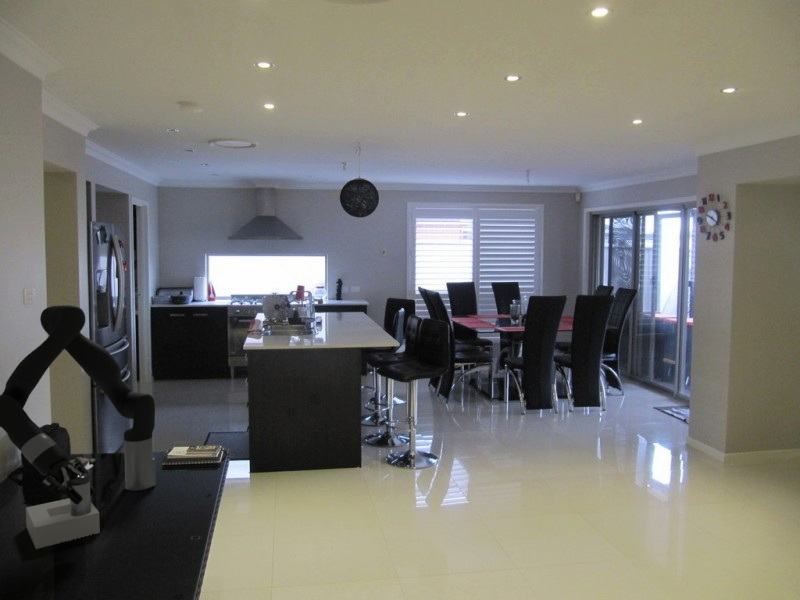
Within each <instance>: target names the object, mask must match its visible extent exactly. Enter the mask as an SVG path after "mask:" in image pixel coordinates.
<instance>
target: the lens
mask: <svg viewBox="0 0 800 600" xmlns="http://www.w3.org/2000/svg"><path fill="white" fill-rule="evenodd" d="M89 474H90V473H89ZM89 474H77V475H73V476H71V477H69V481H70V485H71V486H72V488H73V489H74V490H75V491H76V492H77V493H78V494H79V495H80V496H81V497H82V498H83V500H82V501H81V502H80V503H79V504H77V505H76V504H75V503H73V502H72V501H71V500H70V515H71V516H74V517H78V516H84V515H87V514H89V513H90V512H91V503H92V502H91V501H92V500H91V497H92V496H91V497H90V485H91V474H90V475H89ZM73 489H72V490H73Z"/></svg>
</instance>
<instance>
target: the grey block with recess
mask: <svg viewBox="0 0 800 600" xmlns="http://www.w3.org/2000/svg"><path fill="white" fill-rule="evenodd" d="M25 517H26V518H25V520H26V529H27V533H28V534H29V536H30V539H31V541H32V543H33V546H34V548H35V550H38V549H41V548H45V547H50V546H53V545H57V544H62V543H66V542H70V541H74V540H78V539H81V537H82V538H84V537H85V536H86V537H90V536H93V535H92V534H94V535H97V534H100V533H101V532H100V531H101V528H100V512H99V510H98V509H97V508H96V506H95V505H94V504H93V503H92V502H91V512H90V513H89V514H87V515H84V516H78V517H74V516H71V515H70V499H69V498H65V499H64V498H63V499H60V500H55V501H51V502H45V503H41V504H37V505H32V506H27V507H25ZM89 535H90V536H89ZM77 538H78V539H77ZM73 539H74V540H73ZM65 541H66V542H65ZM61 542H62V543H61Z"/></svg>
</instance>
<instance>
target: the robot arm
mask: <svg viewBox="0 0 800 600" xmlns="http://www.w3.org/2000/svg"><path fill="white" fill-rule="evenodd" d="M39 319H40V325H41V327H42V329H43V330H44V332H45V333H46V334H47V335H48V336H47V338H46V339H45V340H44V341H43V342H42V343H40V344H39V346H37V347H35V348H34V349H33V350H32V351H31V352H30V353H28V354H27V355H26V356H25V357H23V359H22V360H21V361H20V362H19V363H18V365H17V366H16V367H15V369H14V370H13V371H12V373H11V374H10V376H9V377H8V379H7V381H6V383H5V386H4V390H3V392H2V393H1V394H0V428H1V429H2V430H3V431H5V433H6V434H7V437H8V438H9V440H10V441H11V443H13V444H14V446H15V447H16V448H17V449H18V450H19V451H20V452H21V454H23V456H24V458H25V459H26V460H27V461H28V462H29V463H30V464H31V465H32V466H33V467H34V469H36V471H38V472H39V474H40V475H42V476H46V478H44V480H43V481H42V482H41V485H42V486H44V488H46V489H48V491H50V492H51V493H53V494H54V495H56V496H57V497H60V498H61V497H62V496H65V497H67V499H70V500H71V501H72V502H73V503H75V504H76V505H77V504H79V503H80V502H81V501H82V500H83V498H82V497H81V496H80V495H79V494H78V493H77V492H76V491H75V490H74V489H73V488H72V486H71V485H70V481H69V477H71V476H73V475H77V474H89V475H90V476H91V474H90V472H89V471H88V470H87V468H86V467H85V466H84V464H83V463H82V461H81V460H78V461H76V462H75V463H72V462H70V461H69V460H68V454H67V453H66V452H65V451H64V450H63V449H62V448H61V447H60V446H59V445H58V443H56V442H55V441H54V440H53V438H51V437H50V436H49V435H48V434H46V432H44V431H43V430H42V429H41V427H39V426H38V424H37V423H35V422H34V421H33V420H32V419H31V418H30V416H29V415H28V413H27V412H26V411H25V409H24V407H25V405H26V403H27V402H28V400H29V397H30V396H31V394H32V392H33V391H34V389H35V388H36V387H37V385H38V384H39V382H40V381H41V379H42V378H43V376H44V375H45V373H46V372H47V371H48V369H49V367H50V366H51V364H53V363H54V361H55V360H56V359H57V358H58V357H59V355H61V353H62V352H63V351H64V350H65V351H66V352H67V353H68V354H69V355H70V356H71V358H72V359H73V360H74V361H75V362H76V363H77V364H78V365H79V367H80V368H81V369H82V370H83V371H84V372H85V374H86V375H88V377H89V378H90V379H91V380H92V381H93V382H94V383H95V384H96V385H97V387H99V389H100V390H101V391H102V392H103V393H104V394H105V395H106V396H107V398H108V399H109V401H110V402H111V404H112V405H113V407H114V408H115V410H116V411H117V412H118V414H119V415H120V416H121V417H123V418H124V419H125V418H126V419H129V420H132V427H131V428H128V429H126V430H124V433H123V449H124V452H123V453H124V479H125V480H124V483H125V487H124V488H125V490H126V491H130V492H131V491H132V492H135V491H136V492H137V491H138V490H139V491H143V490H147V489H150V488H152V487H156V486H157V483H156V481H157V480H156V478H157V477H156V459H155V458H154V447H153V446H154V444H153V443H154V442H153V441H154V440H153V433H154V429H155V425H156V423H155V421H156V417H155V416H156V403H155V400H154V397H153V396H152V395H151V394H150V393H146V392H145V393H144V392H137V391H133V390H131V389H130V388H129V387H128V386H127V385H126V383H125V382H124V381H123V379H122V373H121V367H120V364H119V363H118V361H117V360H116V359H115V358H114V356H113V355H112V354H111V353H110V351H109V350H107V349H106V348H105V347H104V346H101V345H100V344H99V343H96V342H95V341H93V340H91V339H90V338H88V337H86V336H85V335H84V334H83V333H81V331H82V330H83V329H84V327H85V324H86V314H85V312H84V311H83V309H82V308H80V306H77V305H72V304H71V305H69V304H68V305H64V304H63V305H52V306H48V307H46V308H44V309H43V310H42V312H41V314H40V317H39ZM155 485H156V486H155ZM72 489H73V490H72ZM95 493H96V489H95V488H94V486H92V484H90V497H92V496H94V494H95Z"/></svg>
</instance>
